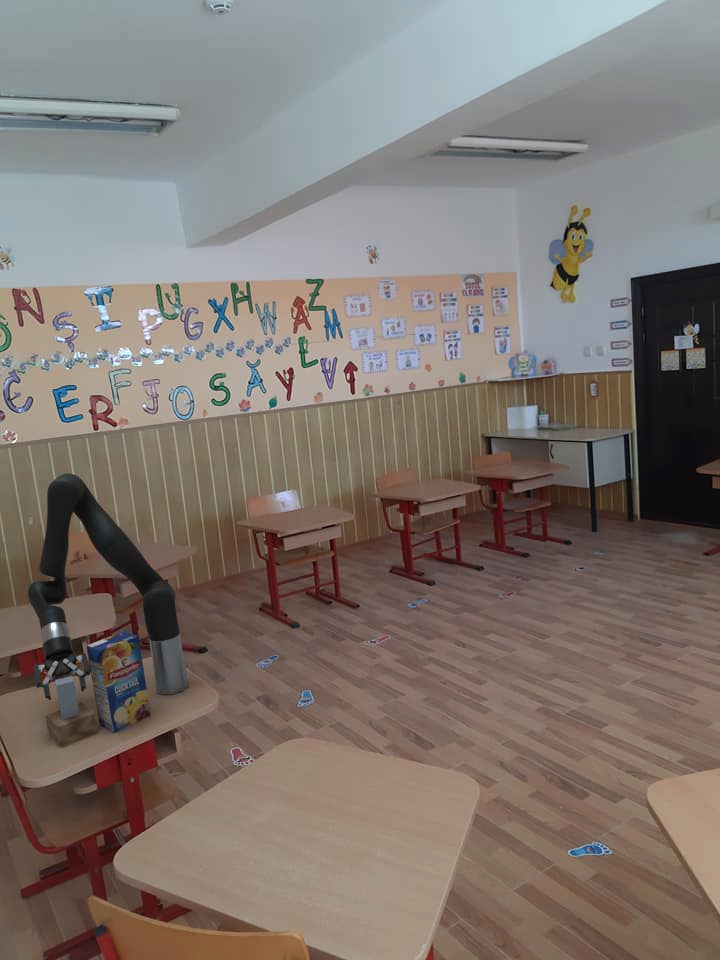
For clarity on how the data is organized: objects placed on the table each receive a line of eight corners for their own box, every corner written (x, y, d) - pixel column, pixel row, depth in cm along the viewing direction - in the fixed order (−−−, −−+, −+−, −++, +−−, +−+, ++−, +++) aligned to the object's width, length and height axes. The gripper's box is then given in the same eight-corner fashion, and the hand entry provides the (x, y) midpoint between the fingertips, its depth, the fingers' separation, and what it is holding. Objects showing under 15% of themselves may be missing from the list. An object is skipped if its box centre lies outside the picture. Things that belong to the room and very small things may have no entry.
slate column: (77, 709, 209) (71, 675, 207) (79, 715, 205) (73, 681, 203) (60, 713, 207) (55, 679, 205) (62, 719, 203) (56, 685, 201)
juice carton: (136, 708, 219) (124, 631, 215) (150, 714, 214) (139, 635, 210) (99, 726, 210) (86, 645, 206) (113, 733, 205) (100, 650, 201)
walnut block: (84, 721, 214) (81, 702, 213) (97, 733, 206) (94, 713, 205) (48, 735, 208) (45, 715, 207) (61, 748, 200) (57, 727, 199)
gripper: (28, 642, 206) (37, 696, 198) (82, 629, 212) (93, 681, 204) (30, 654, 212) (39, 707, 203) (83, 641, 218) (94, 692, 209)
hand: (66, 694), depth 204 cm, fingers open, 8 cm apart
